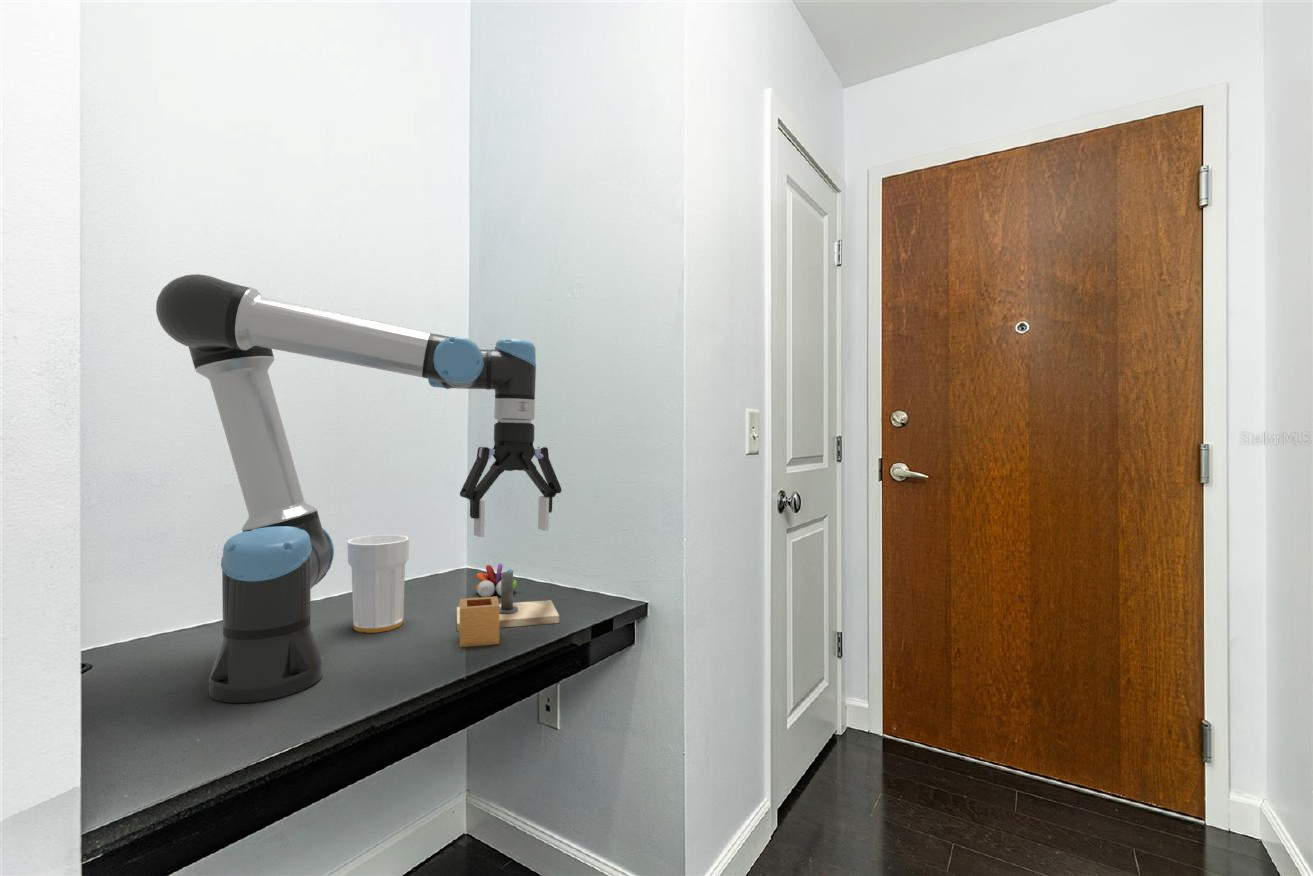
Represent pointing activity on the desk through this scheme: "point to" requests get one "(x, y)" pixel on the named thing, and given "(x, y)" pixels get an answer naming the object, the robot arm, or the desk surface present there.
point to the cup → (378, 581)
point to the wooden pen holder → (479, 621)
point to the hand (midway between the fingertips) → (512, 532)
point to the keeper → (520, 608)
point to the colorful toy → (491, 581)
